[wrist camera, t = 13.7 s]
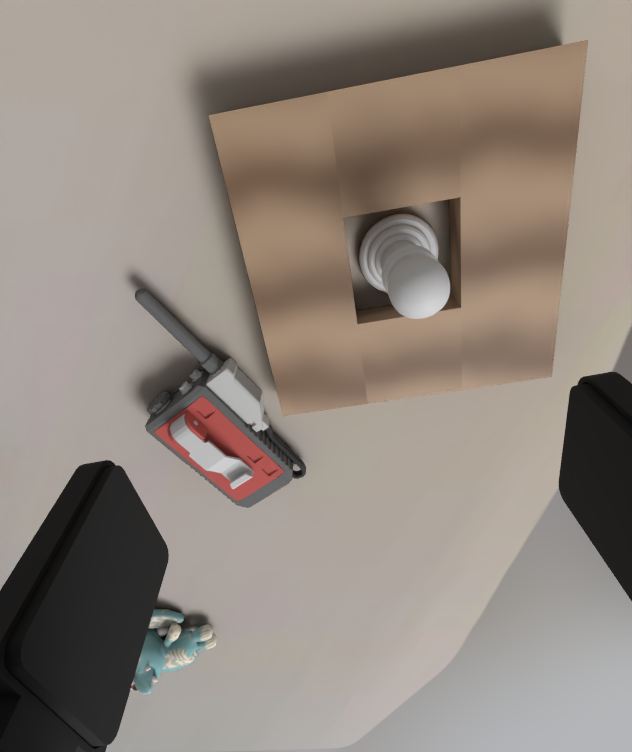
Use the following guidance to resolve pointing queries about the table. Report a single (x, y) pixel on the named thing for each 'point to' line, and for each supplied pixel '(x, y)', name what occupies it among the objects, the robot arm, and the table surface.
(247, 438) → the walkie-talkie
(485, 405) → the table surface
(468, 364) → the socket holder
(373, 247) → the chess piece
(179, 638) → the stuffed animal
